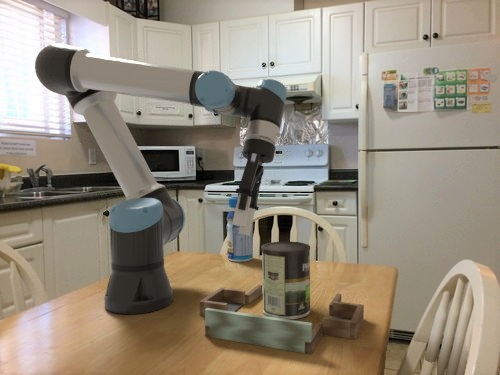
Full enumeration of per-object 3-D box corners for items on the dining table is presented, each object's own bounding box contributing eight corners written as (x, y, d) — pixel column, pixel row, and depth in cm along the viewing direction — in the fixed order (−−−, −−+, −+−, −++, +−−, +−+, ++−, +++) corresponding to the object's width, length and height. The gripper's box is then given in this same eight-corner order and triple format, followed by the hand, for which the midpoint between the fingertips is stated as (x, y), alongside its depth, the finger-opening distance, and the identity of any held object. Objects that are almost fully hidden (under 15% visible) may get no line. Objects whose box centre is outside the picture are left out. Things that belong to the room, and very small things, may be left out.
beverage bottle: (244, 263, 130) (243, 199, 129) (221, 260, 135) (220, 198, 133) (258, 257, 138) (257, 196, 136) (236, 255, 142) (235, 195, 141)
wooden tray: (177, 331, 81) (176, 305, 80) (236, 289, 105) (235, 270, 105) (347, 360, 68) (347, 330, 68) (368, 306, 92) (369, 283, 92)
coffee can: (311, 303, 94) (311, 241, 93) (309, 321, 84) (308, 252, 83) (266, 301, 97) (265, 240, 95) (258, 318, 86) (257, 250, 85)
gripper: (275, 125, 88) (254, 224, 83) (276, 161, 112) (260, 240, 108) (240, 119, 89) (217, 217, 84) (249, 156, 113) (231, 234, 108)
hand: (241, 230), depth 96 cm, fingers open, 13 cm apart
